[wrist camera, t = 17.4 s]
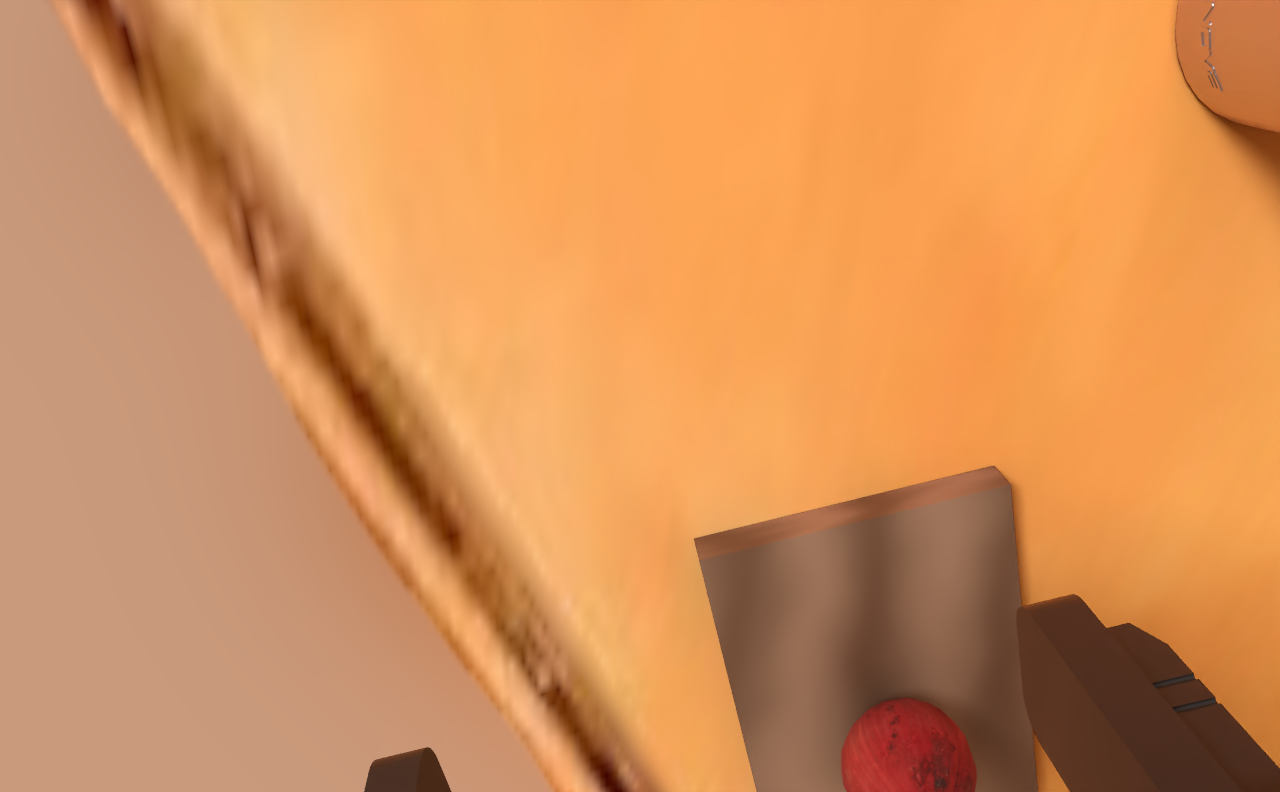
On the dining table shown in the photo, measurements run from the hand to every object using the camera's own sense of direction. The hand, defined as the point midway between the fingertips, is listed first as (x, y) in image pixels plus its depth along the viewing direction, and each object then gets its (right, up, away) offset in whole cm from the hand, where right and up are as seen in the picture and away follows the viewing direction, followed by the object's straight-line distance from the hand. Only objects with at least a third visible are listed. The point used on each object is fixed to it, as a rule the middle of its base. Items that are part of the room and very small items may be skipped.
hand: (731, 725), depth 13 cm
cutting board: (+10, -9, +36) cm, 38 cm away
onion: (+10, -11, +35) cm, 38 cm away
